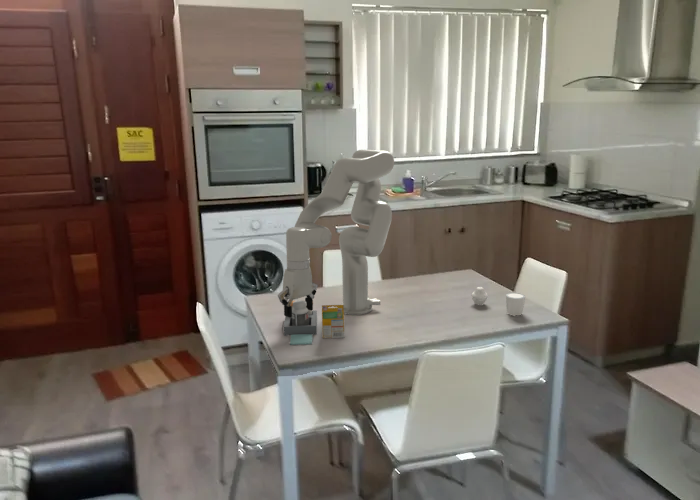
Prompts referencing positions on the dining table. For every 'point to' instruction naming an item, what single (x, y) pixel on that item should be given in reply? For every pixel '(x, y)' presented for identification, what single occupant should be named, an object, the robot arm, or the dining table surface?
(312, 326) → the housing
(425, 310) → the dining table surface
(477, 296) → the white rounded lump
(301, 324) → the pill bottle
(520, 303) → the shot glass
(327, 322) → the crayon box
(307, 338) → the pad
